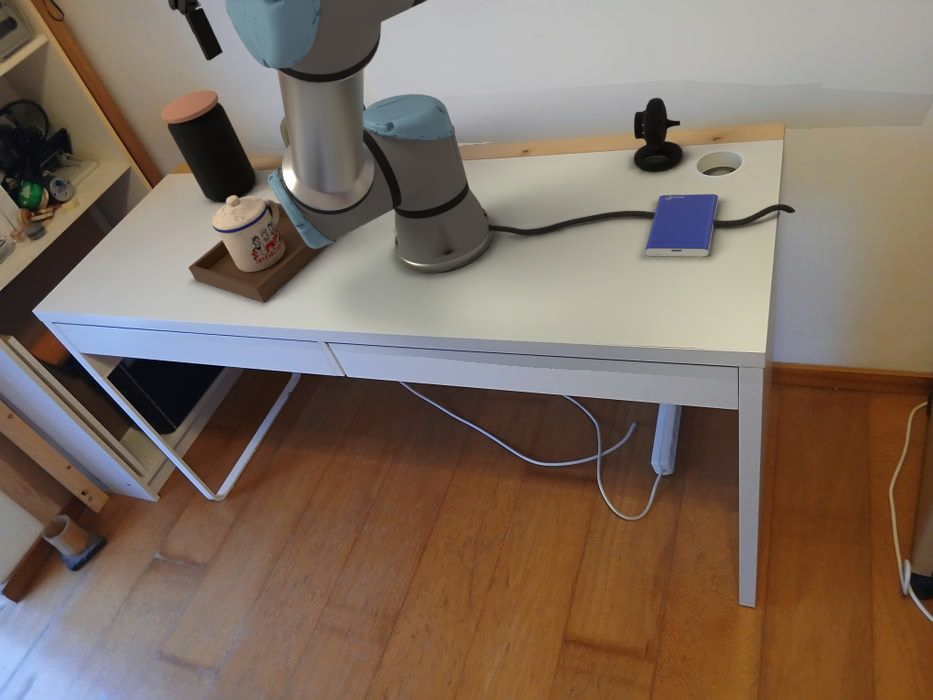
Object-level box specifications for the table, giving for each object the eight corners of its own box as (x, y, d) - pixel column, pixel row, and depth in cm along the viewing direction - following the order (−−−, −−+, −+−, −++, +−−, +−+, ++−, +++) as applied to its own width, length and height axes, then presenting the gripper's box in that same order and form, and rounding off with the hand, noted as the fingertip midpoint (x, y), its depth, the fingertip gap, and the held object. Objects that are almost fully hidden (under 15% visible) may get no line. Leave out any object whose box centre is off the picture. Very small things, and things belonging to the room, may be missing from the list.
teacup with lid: (266, 277, 122) (234, 217, 115) (225, 271, 127) (192, 213, 119) (307, 232, 129) (280, 173, 121) (268, 228, 134) (239, 170, 126)
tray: (344, 230, 128) (338, 216, 126) (264, 303, 118) (256, 289, 116) (275, 214, 138) (269, 201, 136) (195, 280, 128) (187, 267, 126)
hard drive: (659, 194, 111) (645, 247, 103) (717, 193, 108) (708, 247, 100) (659, 203, 112) (646, 256, 104) (718, 202, 109) (708, 256, 101)
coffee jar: (267, 172, 151) (227, 87, 139) (242, 203, 144) (197, 116, 132) (223, 175, 155) (180, 92, 143) (196, 205, 148) (149, 121, 136)
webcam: (638, 147, 125) (633, 90, 118) (685, 145, 122) (682, 86, 115) (630, 173, 120) (623, 115, 113) (678, 172, 117) (675, 112, 110)
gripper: (256, -127, 90) (321, 48, 104) (138, -109, 104) (209, 43, 118) (210, -104, 86) (284, 74, 100) (93, -89, 100) (173, 66, 114)
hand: (244, 58), depth 109 cm, fingers open, 13 cm apart
